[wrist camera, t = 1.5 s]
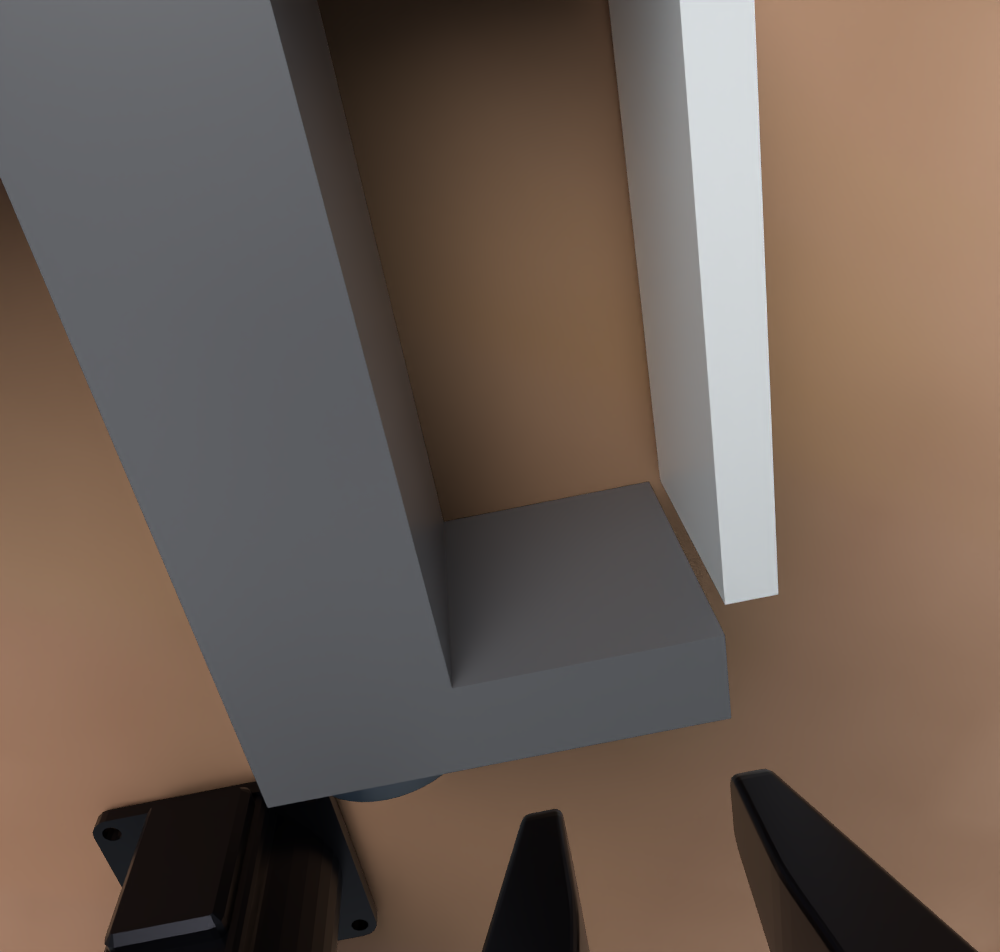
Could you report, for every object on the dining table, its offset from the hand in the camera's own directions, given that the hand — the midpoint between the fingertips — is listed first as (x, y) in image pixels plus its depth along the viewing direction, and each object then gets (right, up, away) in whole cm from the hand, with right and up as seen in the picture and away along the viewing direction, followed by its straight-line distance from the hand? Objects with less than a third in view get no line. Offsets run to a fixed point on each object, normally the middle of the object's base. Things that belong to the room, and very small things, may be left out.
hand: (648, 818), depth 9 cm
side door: (+2, +9, +9) cm, 12 cm away
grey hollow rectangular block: (-3, +8, +9) cm, 13 cm away
